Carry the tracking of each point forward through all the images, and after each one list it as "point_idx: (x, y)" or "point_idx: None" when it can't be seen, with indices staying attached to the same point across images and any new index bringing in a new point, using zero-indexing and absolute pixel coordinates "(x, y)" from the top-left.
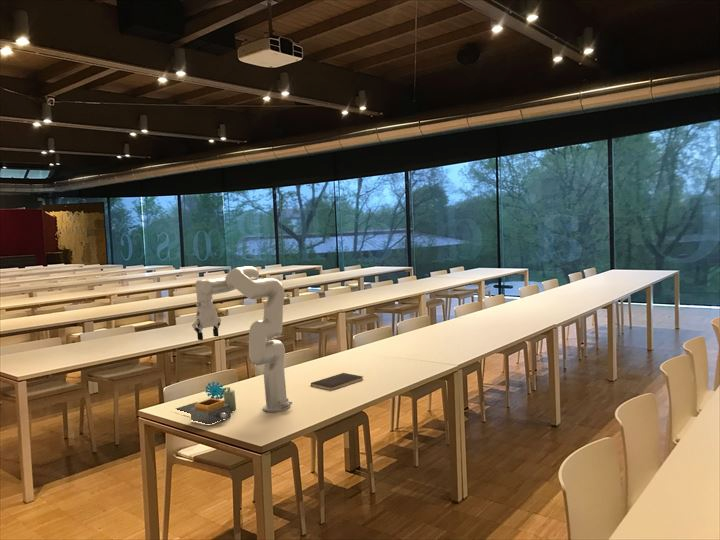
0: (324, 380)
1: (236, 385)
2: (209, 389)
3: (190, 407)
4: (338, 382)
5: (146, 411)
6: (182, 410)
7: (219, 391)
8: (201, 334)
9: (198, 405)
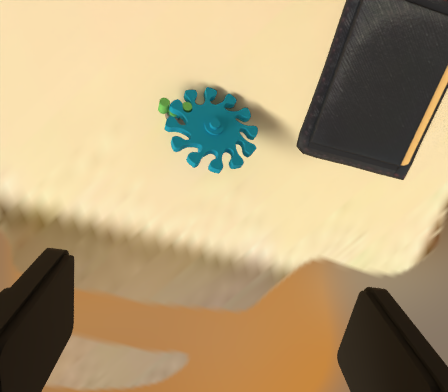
0: None
1: (33, 159)
2: (235, 145)
3: (386, 109)
4: None
5: (410, 262)
6: (421, 116)
7: (203, 110)
8: (440, 359)
9: None
